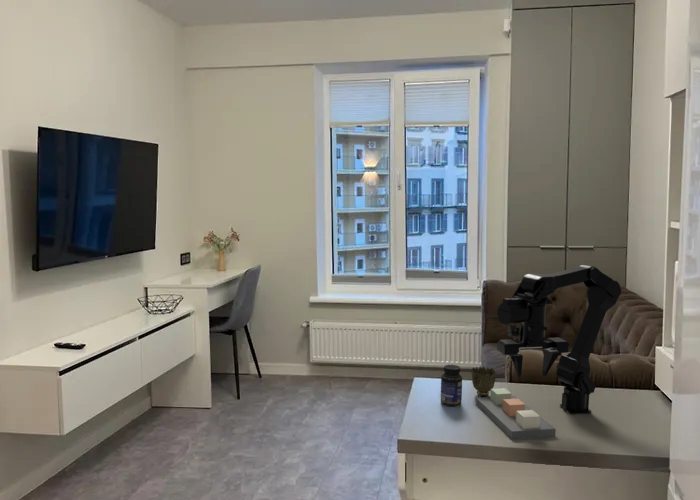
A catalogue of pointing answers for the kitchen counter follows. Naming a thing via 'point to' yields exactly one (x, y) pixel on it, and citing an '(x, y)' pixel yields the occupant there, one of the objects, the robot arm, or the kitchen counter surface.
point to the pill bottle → (451, 386)
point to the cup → (483, 380)
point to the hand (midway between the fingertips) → (531, 376)
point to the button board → (513, 421)
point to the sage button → (499, 395)
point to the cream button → (527, 419)
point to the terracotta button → (512, 406)
